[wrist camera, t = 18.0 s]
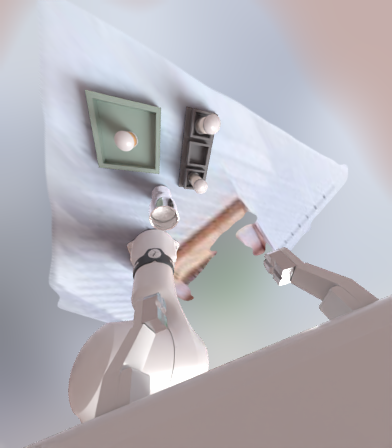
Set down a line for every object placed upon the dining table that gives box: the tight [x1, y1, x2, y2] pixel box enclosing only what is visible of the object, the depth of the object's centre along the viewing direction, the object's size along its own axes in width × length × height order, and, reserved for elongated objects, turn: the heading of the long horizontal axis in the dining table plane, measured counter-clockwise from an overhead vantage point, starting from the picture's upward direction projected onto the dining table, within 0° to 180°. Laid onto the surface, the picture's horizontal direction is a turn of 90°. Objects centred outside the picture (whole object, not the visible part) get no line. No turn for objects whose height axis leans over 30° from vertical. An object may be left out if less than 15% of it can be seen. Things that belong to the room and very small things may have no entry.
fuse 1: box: [194, 114, 221, 135], centre depth 32 cm, size 3×3×9 cm
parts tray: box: [85, 90, 161, 174], centre depth 33 cm, size 14×14×3 cm
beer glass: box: [149, 186, 179, 231], centre depth 38 cm, size 7×7×15 cm
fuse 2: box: [188, 172, 208, 194], centre depth 39 cm, size 3×3×9 cm
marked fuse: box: [114, 131, 138, 151], centre depth 30 cm, size 3×3×9 cm
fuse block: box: [179, 107, 218, 189], centre depth 38 cm, size 19×8×4 cm, turn 171°
